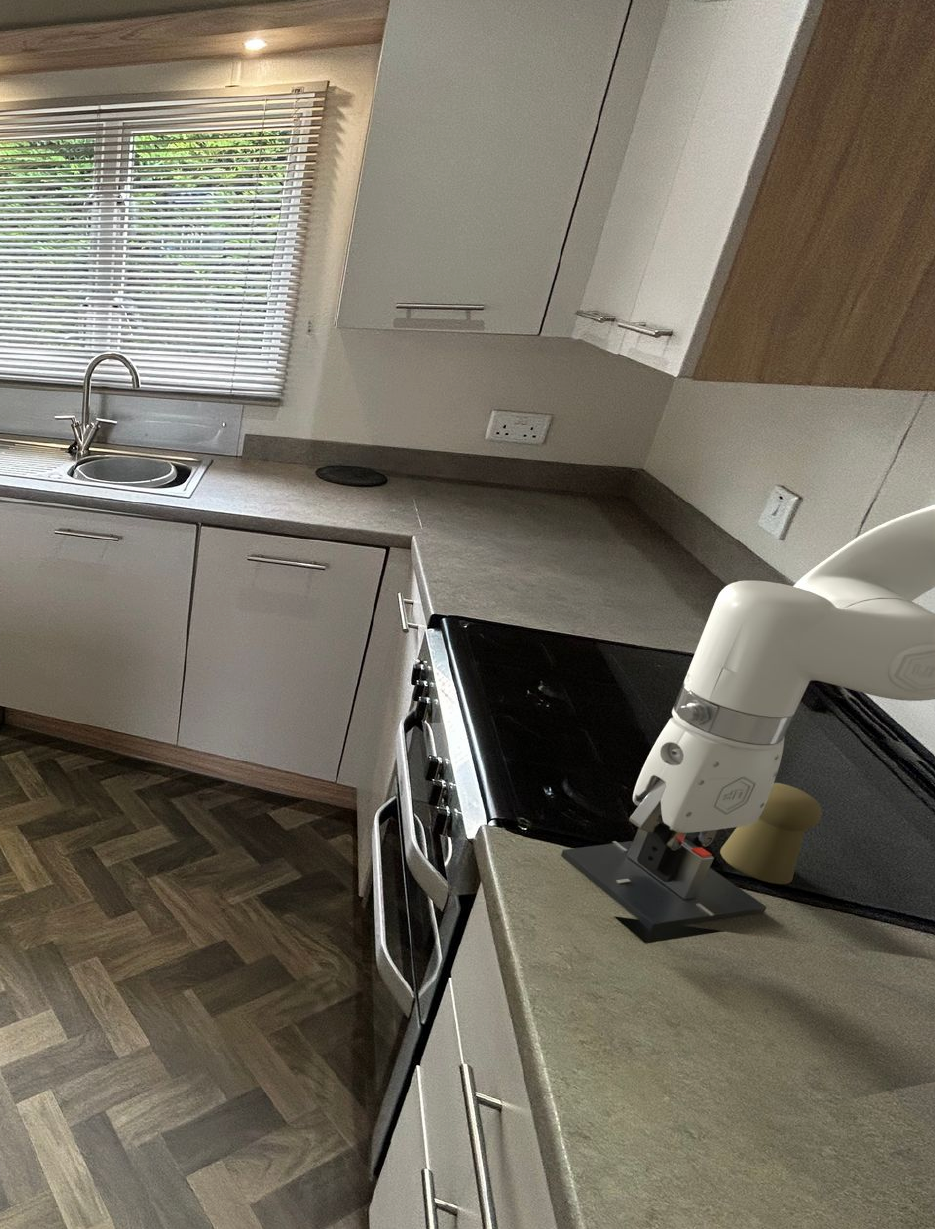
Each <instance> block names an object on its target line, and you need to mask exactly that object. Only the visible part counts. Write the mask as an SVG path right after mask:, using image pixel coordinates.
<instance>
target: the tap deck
mask: <svg viewBox="0 0 935 1229" xmlns="http://www.w3.org/2000/svg"><path fill="white" fill-rule="evenodd" d="M633 841H634V840H631V841H630V840H629V841H622V842H617V841H616V840H614V841H612V843H606V844H598V845H592V846H591V845H590V846H584V847H583V846H582V847H575V848H574V847H573V848H568V849H562V851H561V854H560V856H561V858H562V859H564V860H565V861H566V862H568V864H570V865H571V866H572V867H574V868H575V869H576V870H577V871H579V872H580V874H582V875H583V876H585V877H586V878H587V879H588V880H590V881H591V882H592V883H593V884H595V885H596V886H597V887H598V888H599V889H600V890H602V891H603V892H604V893H606V894H607V895H608V896H609V897H610V898H612V899H613V900H614V901H615V902H616V903H618V904H619V905H620V906H621V907H622V908H624V909H625V910H626V911H627V912H628V913H630V914H631V915H632V916H634V917H635V918H632V917H631V918H630V917H624V916H623V917H622V916H615V915H614V916H613V918H615V920H617V921H618V923H621V924H622V925H623V926H624V927H625V928H627V929H628V931H630V932H631V933H632V934H633V935H634V936H636V937H637V938H638V939H639V940H641V941H642V942H643V943H644V944H651V943H657V942H664V941H671V940H676V939H685V938H691V937H697V936H703V935H710V934H715V933H716V934H717V933H723V932H724V930H721V929H712V928H704V927H697V926H689V925H694V924H699V923H700V924H701V923H707V922H708V923H709V922H714V921H721V920H727V919H734V918H740V917H747V916H753V915H760V914H765V911H766V909H767V906H766V905H764V904H763V903H762V902H760V901H759V900H757V899H756V898H754V897H753V896H751V894H749V893H747V892H746V891H744V890H743V889H741V887H739V886H737V885H736V884H734V883H733V882H731V881H730V880H729V879H727V878H726V877H724V876H723V875H721V874H720V873H718V872H717V871H716V870H714V869H712V868H711V867H710V868H709V870H708V872H707V875H706V877H705V879H704V881H703V883H702V886H701V888H700V890H699V892H698V894H697V897H696V898H691V899H683V898H682V897H680V896H679V895H678V894H676V893H675V892H674V891H672V890H671V889H670V888H668V887H667V886H666V885H664V884H663V883H662V882H660V881H659V880H658V879H656V878H655V877H654V876H652V875H651V874H650V873H648V872H647V871H646V870H644V869H643V868H642V867H640V866H639V865H638V864H636V863H635V862H634V861H632V860H631V859H630V858H628V857H627V856H628V853H629V851H630V848H631V846H632V843H633Z"/></svg>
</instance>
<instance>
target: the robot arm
mask: <svg viewBox="0 0 935 1229" xmlns="http://www.w3.org/2000/svg"><path fill="white" fill-rule="evenodd" d="M934 588H935V503H934V504H932V505H929V506H926V507H923V508H920V509H917V510H914V511H912V512H909V513H906V514H904V515H901V516H898V517H896V518H894V519H891V520H888V521H886V522H884V523H882V524H880V525H877V526H876V527H873V528H871V529H870V530H868V531H866V532H864V533H863V534H861V535H859V536H857V537H856V538H855V539H852V540H851V541H849V542H848V543H847V544H845V545H844V546H842V547H841V548H840V549H838V550H837V551H836V552H834V553H833V554H831V555H830V556H829V557H827V558H826V559H824V560H823V561H822V562H820V563H819V564H818V565H816V566H815V567H814V568H812V569H810V570H809V571H808V572H807V573H805V575H803V576H802V577H801V578H800V579H799V580H797V581H796V583H795V584H794V585H789V584H785V583H779V582H773V581H766V580H765V581H764V580H738V581H735V582H732V583H729V584H727V585H726V586H724V587H723V589H721V590H720V592H719V593H718V595H717V597H716V599H715V602H714V604H713V607H712V609H711V612H710V614H709V617H708V620H707V622H706V624H705V627H704V629H703V632H702V633H701V634H702V635H701V637H700V639H699V642H698V645H697V647H696V650H695V652H694V655H693V658H692V660H691V662H690V665H689V668H688V670H687V672H686V675H685V677H684V680H683V682H682V685H681V686H680V690H679V693H678V695H677V697H676V700H675V702H674V705H673V707H672V710H671V715H672V717H671V718H669V720H668V722H667V723H666V724H665V726H664V727H663V729H662V731H661V732H660V734H659V736H658V737H657V738H656V741H655V743H654V745H653V746H652V748H651V750H650V751H649V754H648V755H647V758H646V760H645V762H644V764H643V766H642V767H641V770H640V773H639V775H638V778H637V780H636V783H635V785H634V790H633V794H632V802H633V803H634V805H635V806H637V807H636V809H635V810H634V811H633V813H632V814H631V815H630V817H629V819H628V821H629V823H631V824H633V825H634V826H635V827H637V829H638V828H639V829H641V830H643V831H646V832H647V836H646V838H645V840H644V843H643V845H642V848H641V850H640V853H639V855H638V858H637V861H638V863H639V864H641V865H642V866H643V867H645V868H646V869H647V870H649V871H650V872H651V873H653V874H654V875H655V876H657V877H658V878H659V879H661V880H662V881H663V882H671V881H672V880H673V878H674V876H675V873H676V871H677V869H678V866H679V864H680V862H681V860H682V857H683V855H684V853H685V851H684V850H682V849H681V848H680V847H681V846H682V844H683V841H684V839H685V838H686V839H687V840H689V841H690V842H692V843H693V844H695V845H696V846H698V847H699V848H700V847H702V848H703V849H705V847H708V846H710V845H711V844H712V843H713V841H714V839H715V837H716V836H717V833H718V831H719V830H725V829H732V828H737V827H740V826H746V825H750V824H752V823H754V822H756V821H757V820H758V819H759V817H760V815H761V813H762V811H763V809H764V807H765V804H766V802H767V800H768V797H769V795H770V792H771V789H772V787H773V784H774V783H775V781H776V779H777V775H778V772H779V769H780V765H781V762H782V758H783V754H784V747H785V735H786V733H787V731H788V729H789V727H790V724H791V722H792V720H793V718H794V716H795V713H796V711H797V709H798V707H799V705H800V703H801V700H802V698H803V697H804V694H805V692H806V691H807V688H808V686H809V684H810V683H811V681H817V682H822V683H826V684H830V685H834V686H836V687H837V686H838V687H841V688H845V689H849V690H852V691H855V692H859V693H862V694H866V695H867V694H868V695H872V696H875V697H878V698H884V699H890V700H895V701H909V702H923V701H933V700H935V612H933V611H931V610H929V609H927V608H925V607H923V606H922V605H919V604H918V603H916V602H914V601H915V600H916V599H918V598H919V597H920V596H923V595H924V594H926V593H927V592H929V591H931V590H932V589H934ZM670 828H671V829H672V830H670Z"/></svg>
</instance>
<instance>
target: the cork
mask: <svg viewBox="0 0 935 1229" xmlns="http://www.w3.org/2000/svg"><path fill="white" fill-rule="evenodd" d="M821 819H822V808H821V805H820V803H819V802H818V800H816V799H815V798H814V797H813V796H812V795H810V794H808V793H807V792H805V791H803V790H802V789H799V788H796V787H794V786H791V785H789V784H784V783H780V782H774V784H773V787H772V789H771V792H770V795H769V797H768V800H767V802H766V804H765V807H764V809H763V811H762V813H761V815H760V817H759V819H758V820H757V821H756V822H754V823H752V824H750V825H746V826H740V827H735V829H734V831H733V832H732V833H731V834H730V835H729V837H728V839H727V840H726V841H725V843H724V844H723V845H722V846H721V848H720V851H719V854H720V855H721V858H722V859H723V860H724V861H725V862H726V863H727V864H728V865H730V866H731V867H733V868H734V869H735V870H737V871H739V872H741V873H742V874H744V875H746V876H748V877H752V878H754V879H756V880H759V881H763V882H766V883H769V884H777V885H787V884H789V883H791V882H792V881H793V878H794V874H795V870H796V867H797V862H798V859H799V855H800V851H801V848H802V843H803V839H804V836H805V833H806V831H808V830H811V829H812V828H814V827H816V825H818V824H819V822H820V820H821Z"/></svg>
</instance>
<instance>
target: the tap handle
mask: <svg viewBox="0 0 935 1229" xmlns="http://www.w3.org/2000/svg"><path fill="white" fill-rule="evenodd" d="M670 830H672V829H671V828H670ZM646 836H647V832H646V831H643V830H641V829H639V828H638V827H637V830H636V834H635V835H634V838H633V840H632V841H633V843H632V846H631V848H630V851H629V853H628V856H627V857H628V858H630V859H631V860H632V861H634V862H635V863H636V864H638V865H639V866H640V867H642V868H643V869H644V870H646V871H647V872H648V873H650V874H651V875H652V876H654V877H655V878H656V879H658V880H659V881H660V882H662V883H663V884H664V885H666V886H667V887H668V888H670V889H671V890H672V891H674V892H675V893H676V894H678V895H679V896H680V897H682V898H683V899H691V898H696V897H697V894H698V892H699V890H700V888H701V886H702V883H703V881H704V879H705V877H706V875H707V872H708V870H709V868H711V865H712V863H713V861H714V859H715V857H714V856H713V855H712V853H711V852H709V851H707V850H706V849H705V848H704V847H703V846H701V847H700V848H699V847H698V846H696V845H695V844H693V843H692V842H690V841H689V840H687V839H686V838H685V839H684V841H683V844H682V846H681V847H680V848H681V849H682V850H684V851H685V853H684V855H683V857H682V860H681V862H680V864H679V866H678V869H677V871H676V873H675V876H674V878H673V880H672V881H671V882H663V881H662V880H661V879H659V878H658V877H657V876H655V875H654V874H653V873H651V872H650V871H649V870H647V869H646V868H645V867H643V866H642V865H641V864H639V863H638V861H637V858H638V855H639V853H640V850H641V848H642V845H643V843H644V840H645V838H646ZM702 847H703V848H704V849H703V848H702Z"/></svg>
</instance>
